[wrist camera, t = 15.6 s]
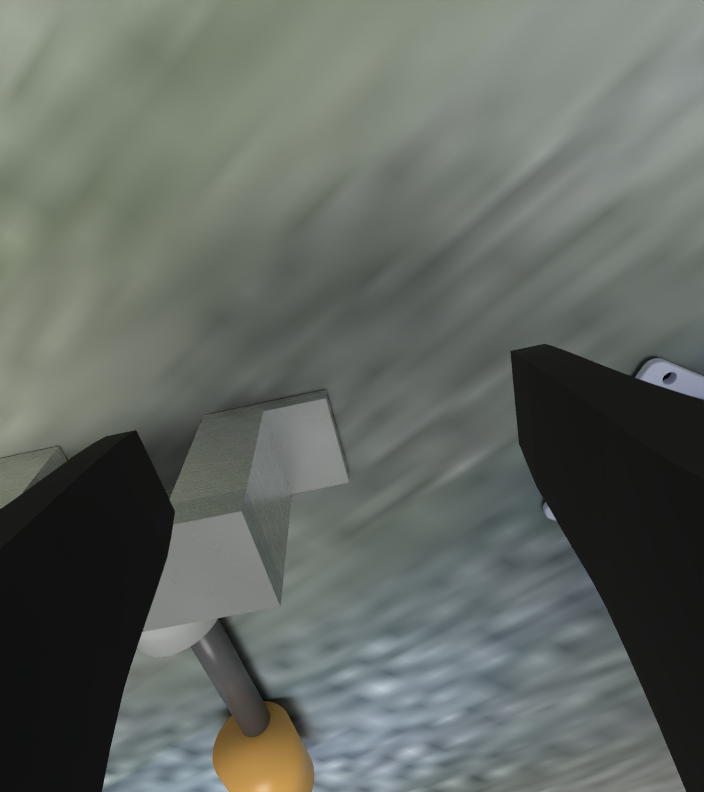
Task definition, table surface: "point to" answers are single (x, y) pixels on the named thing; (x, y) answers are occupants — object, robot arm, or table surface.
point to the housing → (227, 504)
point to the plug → (240, 714)
